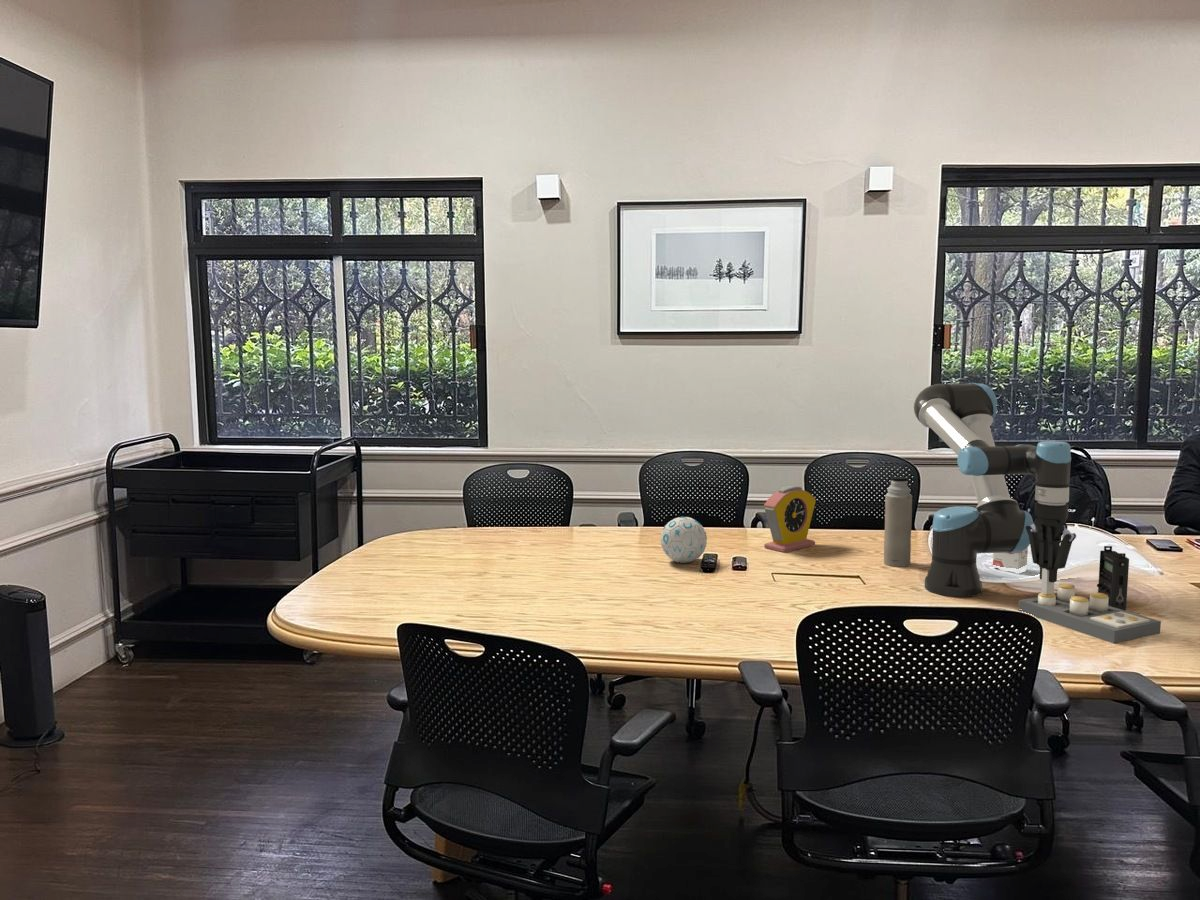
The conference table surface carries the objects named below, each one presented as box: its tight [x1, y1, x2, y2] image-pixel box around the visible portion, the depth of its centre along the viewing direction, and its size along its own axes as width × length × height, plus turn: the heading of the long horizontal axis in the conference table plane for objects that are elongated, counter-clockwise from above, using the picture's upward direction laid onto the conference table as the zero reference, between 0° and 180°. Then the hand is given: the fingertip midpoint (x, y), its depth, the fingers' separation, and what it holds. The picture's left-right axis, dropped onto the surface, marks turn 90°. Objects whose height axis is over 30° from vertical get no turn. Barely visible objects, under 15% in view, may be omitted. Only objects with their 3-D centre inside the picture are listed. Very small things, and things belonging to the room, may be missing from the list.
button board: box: [1018, 593, 1162, 644], centre depth 204 cm, size 26×16×4 cm, turn 22°
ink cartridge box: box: [992, 546, 1029, 569], centre depth 252 cm, size 9×5×15 cm, turn 32°
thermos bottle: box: [883, 476, 913, 568], centre depth 261 cm, size 8×8×28 cm
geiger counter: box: [1096, 545, 1130, 611], centre depth 217 cm, size 10×4×15 cm, turn 170°
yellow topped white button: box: [1089, 591, 1109, 613], centre depth 205 cm, size 4×4×4 cm
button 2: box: [1056, 582, 1076, 603], centre depth 213 cm, size 4×4×4 cm
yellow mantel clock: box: [763, 485, 817, 553], centre depth 286 cm, size 22×9×22 cm, turn 127°
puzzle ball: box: [660, 516, 708, 564], centre depth 268 cm, size 15×15×15 cm
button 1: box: [1037, 591, 1056, 607], centre depth 210 cm, size 4×4×4 cm
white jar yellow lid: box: [1069, 595, 1089, 617], centre depth 202 cm, size 4×4×4 cm
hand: (1047, 593), depth 210 cm, fingers closed
